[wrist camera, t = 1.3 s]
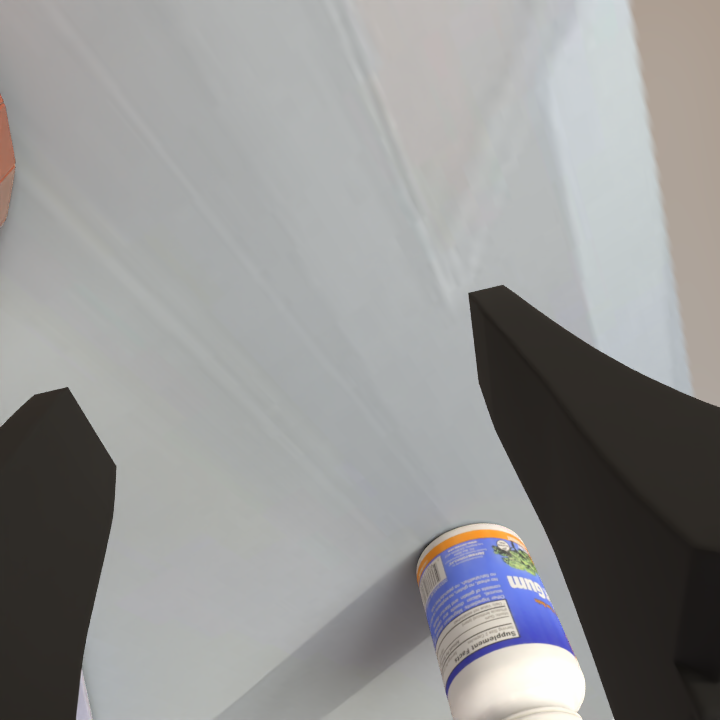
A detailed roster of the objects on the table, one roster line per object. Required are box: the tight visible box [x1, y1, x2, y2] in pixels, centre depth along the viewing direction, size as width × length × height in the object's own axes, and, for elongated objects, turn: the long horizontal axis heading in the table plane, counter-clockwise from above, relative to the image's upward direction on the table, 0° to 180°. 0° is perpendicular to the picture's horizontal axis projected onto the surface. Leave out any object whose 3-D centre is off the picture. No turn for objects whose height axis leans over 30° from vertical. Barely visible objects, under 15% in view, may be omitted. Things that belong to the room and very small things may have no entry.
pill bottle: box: [416, 523, 585, 720], centre depth 28 cm, size 5×5×10 cm
